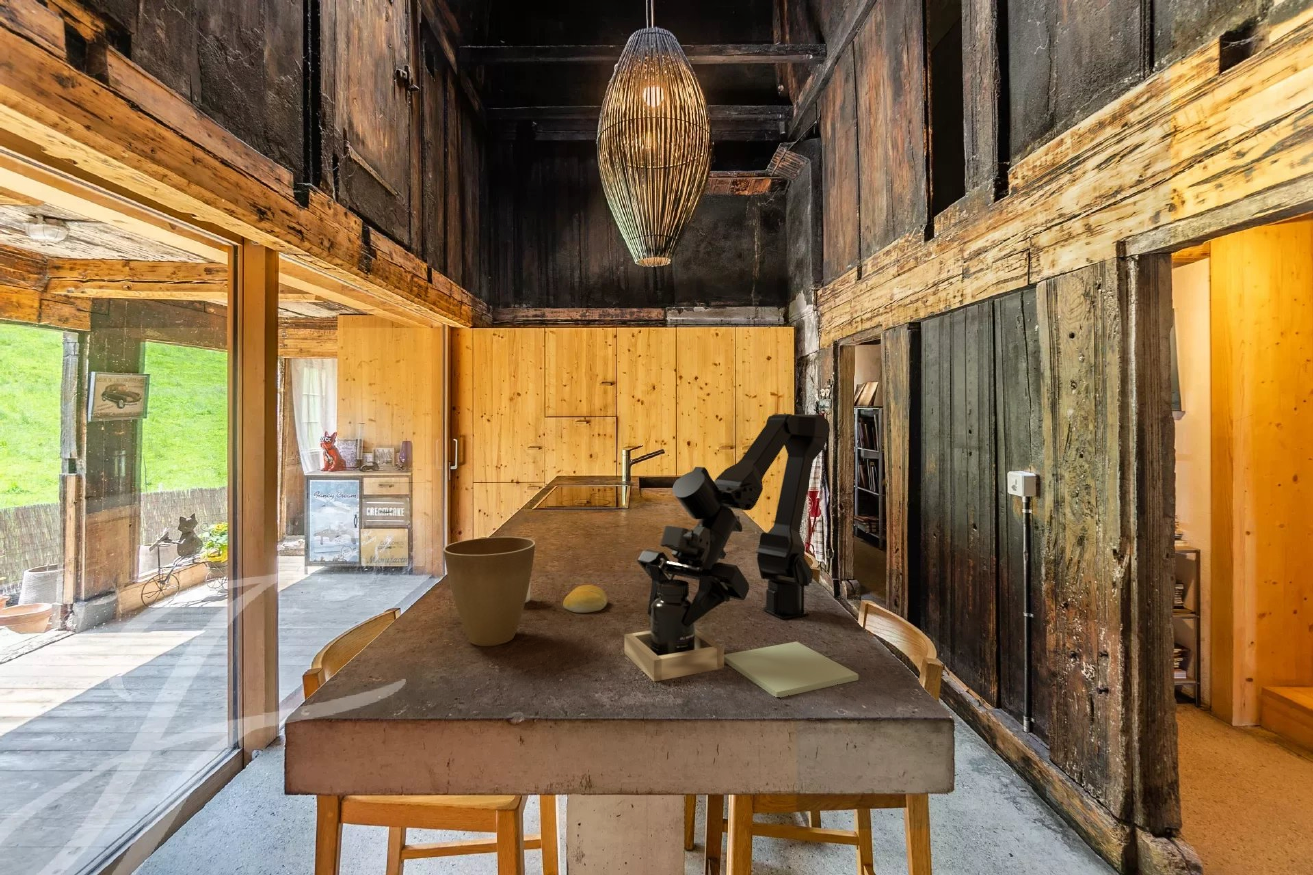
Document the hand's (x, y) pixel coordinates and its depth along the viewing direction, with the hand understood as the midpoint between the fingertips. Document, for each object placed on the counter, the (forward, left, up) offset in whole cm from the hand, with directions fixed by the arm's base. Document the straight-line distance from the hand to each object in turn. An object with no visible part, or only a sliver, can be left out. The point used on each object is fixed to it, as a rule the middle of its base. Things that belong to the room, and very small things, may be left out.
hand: (667, 620), depth 90 cm
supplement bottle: (-1, -1, -7) cm, 7 cm away
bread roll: (+3, -33, -7) cm, 34 cm away
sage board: (-15, +9, -7) cm, 19 cm away
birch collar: (-1, -1, -7) cm, 7 cm away
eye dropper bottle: (+15, -41, -7) cm, 44 cm away
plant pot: (+23, -22, -7) cm, 32 cm away
